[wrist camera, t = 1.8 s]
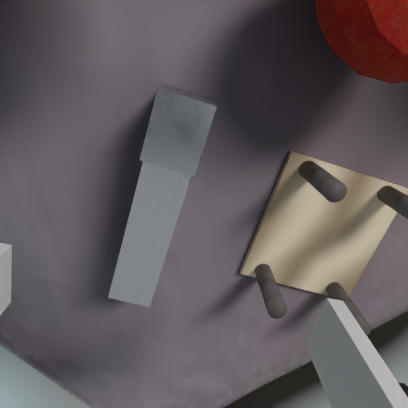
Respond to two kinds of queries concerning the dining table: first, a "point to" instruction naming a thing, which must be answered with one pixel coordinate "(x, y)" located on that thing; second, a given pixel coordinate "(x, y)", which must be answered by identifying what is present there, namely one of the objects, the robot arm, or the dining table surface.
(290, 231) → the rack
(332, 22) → the apple
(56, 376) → the dining table surface
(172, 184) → the grey stepped post
